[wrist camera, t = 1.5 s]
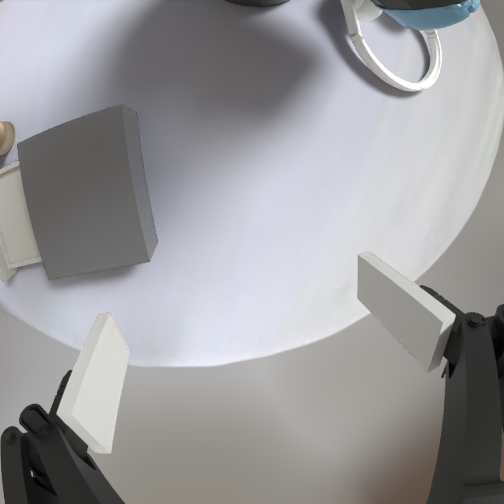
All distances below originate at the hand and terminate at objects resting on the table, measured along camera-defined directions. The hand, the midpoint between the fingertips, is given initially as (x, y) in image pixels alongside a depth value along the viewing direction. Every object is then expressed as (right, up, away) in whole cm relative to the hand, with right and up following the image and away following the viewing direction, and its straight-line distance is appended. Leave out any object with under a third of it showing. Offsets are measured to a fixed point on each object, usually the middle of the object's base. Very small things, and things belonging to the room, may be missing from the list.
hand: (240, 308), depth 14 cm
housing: (-20, +11, +18) cm, 28 cm away
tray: (-31, +9, +16) cm, 36 cm away
